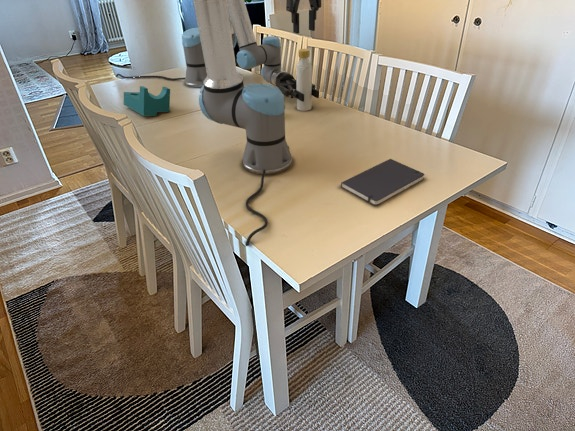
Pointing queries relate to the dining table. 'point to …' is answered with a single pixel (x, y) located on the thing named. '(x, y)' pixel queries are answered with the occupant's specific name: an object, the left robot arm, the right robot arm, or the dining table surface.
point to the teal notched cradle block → (148, 101)
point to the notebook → (382, 181)
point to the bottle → (304, 83)
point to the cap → (304, 53)
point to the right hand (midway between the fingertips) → (304, 31)
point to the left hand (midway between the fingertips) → (310, 96)
